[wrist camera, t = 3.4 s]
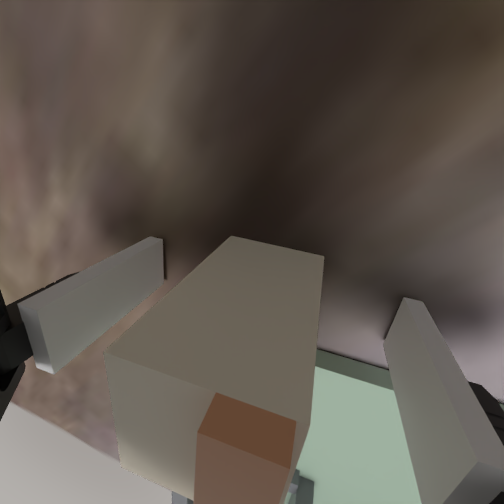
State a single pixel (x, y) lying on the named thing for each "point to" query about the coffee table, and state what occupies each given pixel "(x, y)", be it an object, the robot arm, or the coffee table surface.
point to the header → (299, 488)
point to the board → (356, 437)
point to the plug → (222, 376)
